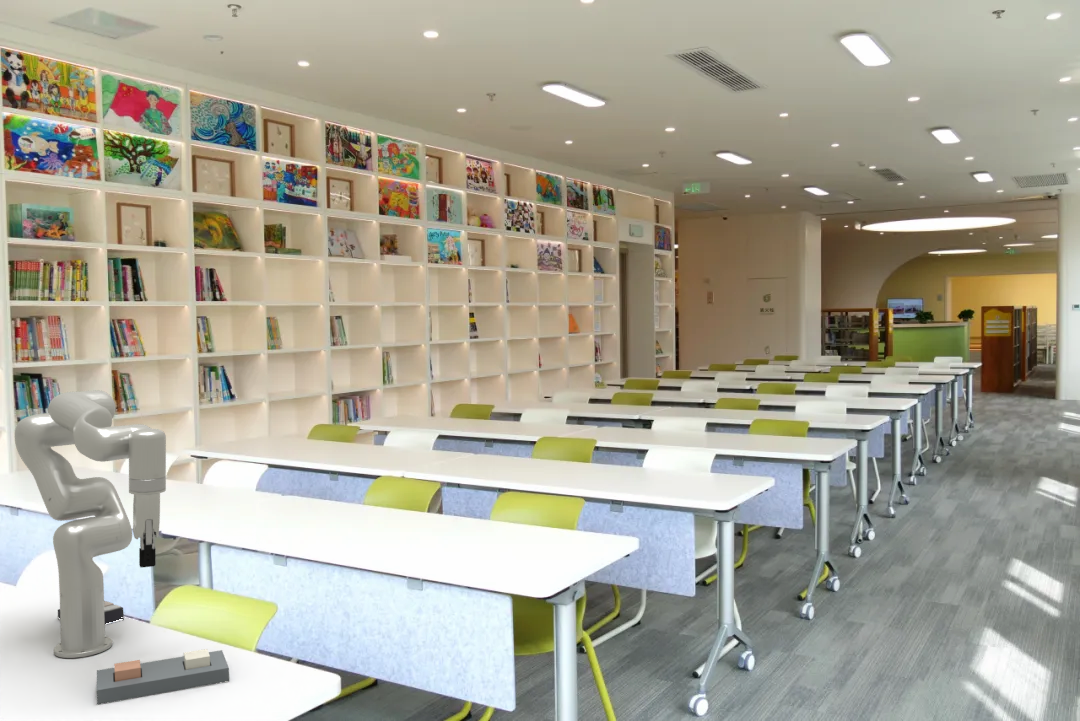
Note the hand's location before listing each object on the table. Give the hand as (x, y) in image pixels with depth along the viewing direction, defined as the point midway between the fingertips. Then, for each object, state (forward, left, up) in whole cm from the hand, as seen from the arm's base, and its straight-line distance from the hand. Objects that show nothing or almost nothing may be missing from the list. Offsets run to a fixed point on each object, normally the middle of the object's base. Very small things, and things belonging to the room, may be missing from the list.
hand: (147, 565), depth 198 cm
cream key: (+6, +9, -24) cm, 26 cm away
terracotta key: (+6, -5, -24) cm, 25 cm away
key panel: (+6, +2, -25) cm, 26 cm away
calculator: (-49, -12, -25) cm, 56 cm away
